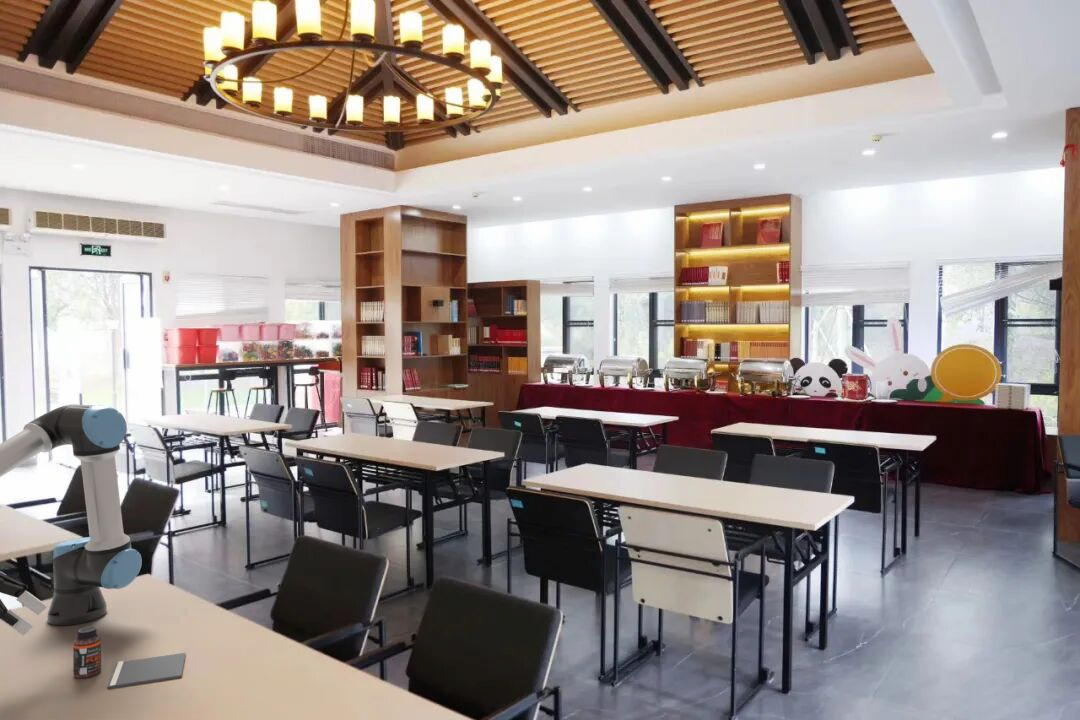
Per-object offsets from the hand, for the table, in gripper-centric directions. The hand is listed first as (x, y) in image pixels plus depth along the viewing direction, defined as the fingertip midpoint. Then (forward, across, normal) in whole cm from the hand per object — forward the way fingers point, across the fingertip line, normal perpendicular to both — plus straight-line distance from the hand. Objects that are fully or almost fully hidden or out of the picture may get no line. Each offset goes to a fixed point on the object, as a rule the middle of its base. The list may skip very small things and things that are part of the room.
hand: (36, 620), depth 182 cm
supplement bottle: (+18, 0, -3) cm, 19 cm away
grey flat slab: (+28, +4, +7) cm, 29 cm away
